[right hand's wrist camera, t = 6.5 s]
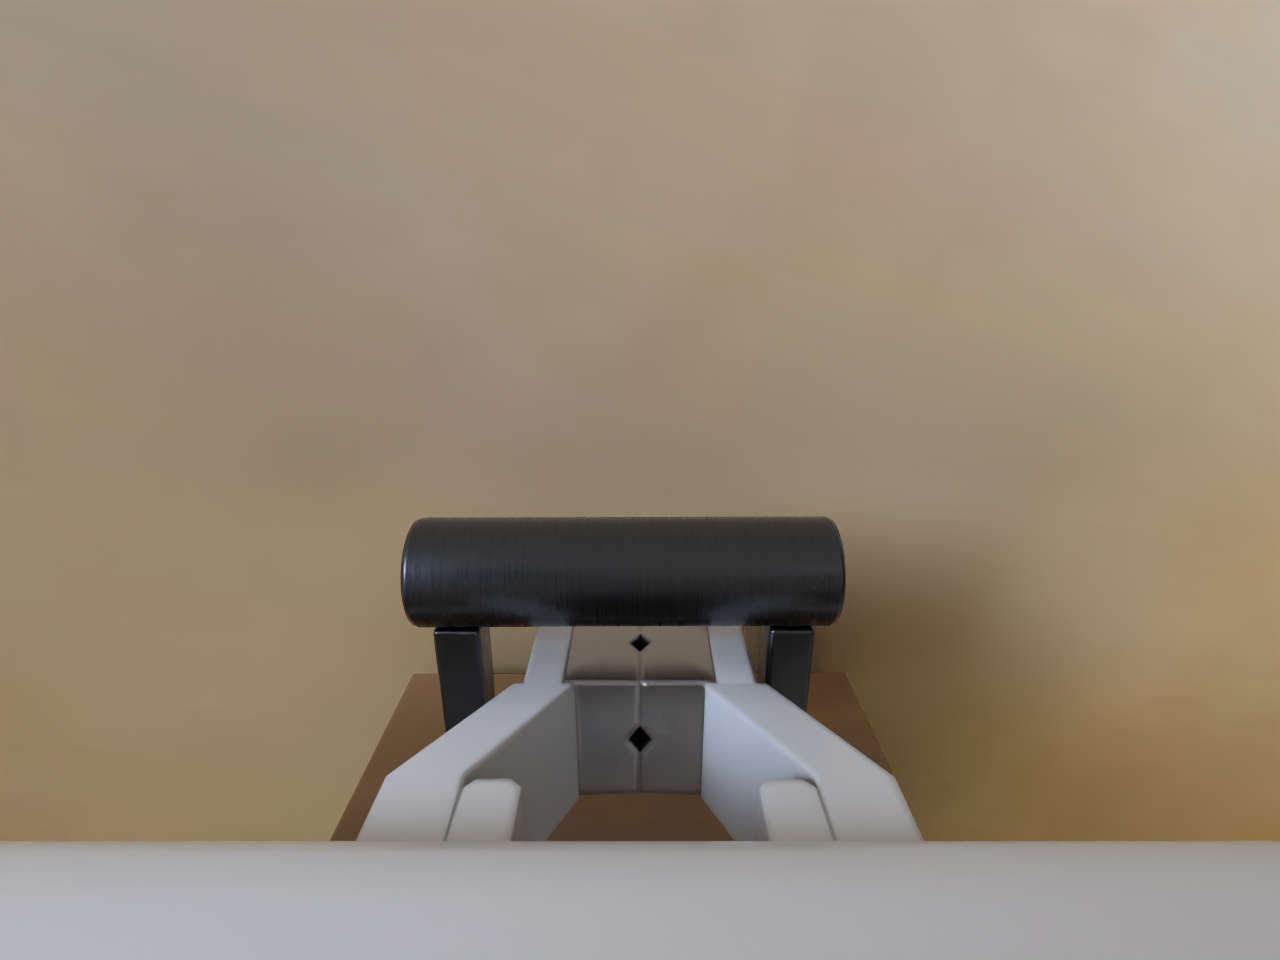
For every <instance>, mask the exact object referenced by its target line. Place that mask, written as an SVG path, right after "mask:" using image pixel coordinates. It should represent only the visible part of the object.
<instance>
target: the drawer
mask: <svg viewBox="0 0 1280 960" xmlns="http://www.w3.org/2000/svg"><path fill="white" fill-rule="evenodd" d="M845 589H846V566H845V556H844V550H843V545H842V541H841V537H840V534H839V531H838V529H837V526H836V525H835V523H834V522H833V521H832V520H831V519H829V518H827V517H516V518H422V519H419V520H417V521H415V522H414V523H413V525H412V526H411V528H410V530H409V532H408V535H407V538H406V541H405V545H404V549H403V555H402V562H401V594H402V601H403V606H404V610H405V613H406V616H407V618H408V620H409V621H410V622H411V623H412V624H413V625H415V626H418V627H436V628H435V630H434V642H435V650H436V658H437V667H438V674H414V675H413V676H412V678H411V680H410V682H409V684H408V686H407V688H406V690H405V692H404V694H403V696H402V698H401V700H400V702H399V704H398V706H397V708H396V710H395V712H394V714H393V716H392V718H391V720H390V722H389V724H388V726H387V728H386V730H385V732H384V734H383V736H382V738H381V740H380V742H379V744H378V746H377V748H376V750H375V752H374V754H373V756H372V758H371V760H370V762H369V764H368V766H367V768H366V770H365V772H364V774H363V776H362V778H361V780H360V782H359V784H358V786H357V788H356V790H355V792H354V794H353V796H352V798H351V800H350V802H349V804H348V806H347V808H346V810H345V812H344V814H343V816H342V818H341V820H340V822H339V824H338V826H337V828H336V830H335V832H334V834H333V836H332V838H331V840H330V841H356V839H357V837H358V835H359V833H360V831H361V829H362V826H363V824H364V822H365V820H366V818H367V816H368V814H369V812H370V809H371V807H372V805H373V803H374V801H375V799H376V797H377V795H378V792H379V790H380V788H381V786H382V784H383V782H384V780H385V778H386V776H387V775H388V774H390V773H391V772H392V771H394V770H395V769H397V768H398V767H399V766H401V765H402V764H403V763H405V762H406V761H408V760H409V759H410V758H412V757H413V756H414V755H416V754H417V753H419V752H420V751H421V750H423V749H424V748H426V747H427V746H428V745H430V744H431V743H432V742H434V741H435V740H437V739H438V738H439V737H441V736H442V735H443V734H445V733H446V732H448V731H449V730H450V729H452V728H453V727H454V726H456V725H457V724H459V723H460V722H461V721H463V720H464V719H465V718H467V717H468V716H470V715H471V714H472V713H474V712H475V711H476V710H478V709H479V708H481V707H482V706H483V705H485V704H486V703H487V702H489V701H490V700H492V699H493V698H494V697H496V696H497V695H498V694H500V693H501V692H503V691H504V690H505V689H507V688H508V687H510V686H511V685H512V684H514V683H524V679H525V675H526V674H493V665H492V654H491V642H490V631H489V627H595V626H761V639H760V653H759V667H758V673H754V675H755V679H756V683H766V684H768V685H769V686H771V687H772V688H773V689H775V690H776V691H777V692H779V693H780V694H781V695H783V696H784V697H786V698H787V699H788V700H790V701H791V702H792V703H794V704H795V705H797V706H798V707H799V708H801V709H802V710H803V711H805V712H806V713H808V714H809V715H810V716H812V717H813V718H814V719H816V720H817V721H818V722H820V723H821V724H823V725H824V726H825V727H827V728H828V729H829V730H831V731H832V732H834V733H835V734H836V735H838V736H839V737H840V738H842V739H843V740H845V741H846V742H847V743H849V744H850V745H851V746H853V747H854V748H855V749H857V750H858V751H860V752H861V753H862V754H864V755H865V756H866V757H868V758H869V759H871V760H872V761H873V762H875V763H876V764H877V765H879V766H880V767H882V768H883V769H884V770H886V771H887V772H888V773H890V774H891V775H892V776H893V774H892V772H891V770H890V767H889V765H888V763H887V761H886V759H885V757H884V755H883V753H882V751H881V748H880V746H879V744H878V742H877V740H876V738H875V736H874V734H873V732H872V729H871V727H870V725H869V723H868V721H867V719H866V717H865V715H864V713H863V710H862V708H861V706H860V704H859V702H858V700H857V698H856V696H855V694H854V691H853V689H852V687H851V685H850V683H849V681H848V679H847V677H846V675H845V673H843V672H817V673H811V665H812V656H813V646H814V636H815V631H814V628H813V626H829V625H831V624H834V623H835V622H837V620H838V619H839V617H840V614H841V611H842V608H843V603H844V598H845ZM546 841H734V840H733V838H732V837H731V836H730V834H729V833H728V832H727V831H726V829H725V828H724V827H723V825H722V824H721V823H720V822H719V820H718V819H717V818H716V816H715V815H714V814H713V813H712V811H711V810H710V809H709V807H708V806H707V805H706V804H705V802H704V801H703V800H702V798H701V795H689V794H654V793H625V794H590V795H579V799H578V800H577V802H576V803H575V804H574V805H573V807H572V808H571V809H570V811H569V812H568V813H567V814H566V816H565V817H564V818H563V820H562V821H561V822H560V823H559V825H558V826H557V827H556V829H555V830H554V831H553V832H552V834H551V835H550V836H549V838H548V839H547V840H546Z"/></svg>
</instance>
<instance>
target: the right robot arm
mask: <svg viewBox="0 0 1280 960" xmlns="http://www.w3.org/2000/svg"><path fill="white" fill-rule="evenodd" d="M625 793H654V794H689V795H701V798H702V800H703V801H704V802H705V804H706V805H707V806H708V807H709V809H710V810H711V811H712V813H713V814H714V815H715V816H716V818H717V819H718V820H719V822H720V823H721V824H722V825H723V827H724V828H725V829H726V831H727V832H728V833H729V834H730V836H731V837H732V838H733V840H734V841H546V840H547V839H548V838H549V836H550V835H551V834H552V832H553V831H554V830H555V829H556V827H557V826H558V825H559V823H560V822H561V821H562V820H563V818H564V817H565V816H566V814H567V813H568V812H569V811H570V809H571V808H572V807H573V805H574V804H575V803H576V802H577V800H578V799H579V795H590V794H625ZM0 960H1280V841H924V839H923V837H922V835H921V833H920V831H919V828H918V826H917V824H916V822H915V820H914V818H913V816H912V813H911V811H910V809H909V807H908V805H907V803H906V800H905V798H904V796H903V794H902V792H901V790H900V788H899V785H898V783H897V781H896V779H895V777H894V776H892V775H891V774H890V773H888V772H887V771H886V770H884V769H883V768H882V767H880V766H879V765H877V764H876V763H875V762H873V761H872V760H871V759H869V758H868V757H866V756H865V755H864V754H862V753H861V752H860V751H858V750H857V749H855V748H854V747H853V746H851V745H850V744H849V743H847V742H846V741H845V740H843V739H842V738H840V737H839V736H838V735H836V734H835V733H834V732H832V731H831V730H829V729H828V728H827V727H825V726H824V725H823V724H821V723H820V722H818V721H817V720H816V719H814V718H813V717H812V716H810V715H809V714H808V713H806V712H805V711H803V710H802V709H801V708H799V707H798V706H797V705H795V704H794V703H792V702H791V701H790V700H788V699H787V698H786V697H784V696H783V695H781V694H780V693H779V692H777V691H776V690H775V689H773V688H772V687H771V686H769V685H768V684H766V683H756V679H755V675H754V671H753V667H752V664H751V660H750V656H749V652H748V648H747V645H746V641H745V637H744V633H743V629H742V626H595V627H538V629H537V633H536V636H535V640H534V644H533V648H532V652H531V656H530V660H529V663H528V667H527V671H526V675H525V679H524V683H514V684H512V685H511V686H510V687H508V688H507V689H505V690H504V691H503V692H501V693H500V694H498V695H497V696H496V697H494V698H493V699H492V700H490V701H489V702H487V703H486V704H485V705H483V706H482V707H481V708H479V709H478V710H476V711H475V712H474V713H472V714H471V715H470V716H468V717H467V718H465V719H464V720H463V721H461V722H460V723H459V724H457V725H456V726H454V727H453V728H452V729H450V730H449V731H448V732H446V733H445V734H443V735H442V736H441V737H439V738H438V739H437V740H435V741H434V742H432V743H431V744H430V745H428V746H427V747H426V748H424V749H423V750H421V751H420V752H419V753H417V754H416V755H414V756H413V757H412V758H410V759H409V760H408V761H406V762H405V763H403V764H402V765H401V766H399V767H398V768H397V769H395V770H394V771H392V772H391V773H390V774H388V775H387V776H386V778H385V780H384V782H383V784H382V786H381V788H380V790H379V792H378V795H377V797H376V799H375V801H374V803H373V805H372V807H371V809H370V812H369V814H368V816H367V818H366V820H365V822H364V824H363V826H362V829H361V831H360V833H359V835H358V837H357V839H356V841H0Z"/></svg>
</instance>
